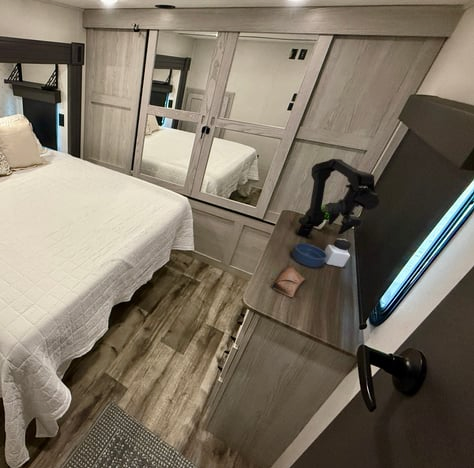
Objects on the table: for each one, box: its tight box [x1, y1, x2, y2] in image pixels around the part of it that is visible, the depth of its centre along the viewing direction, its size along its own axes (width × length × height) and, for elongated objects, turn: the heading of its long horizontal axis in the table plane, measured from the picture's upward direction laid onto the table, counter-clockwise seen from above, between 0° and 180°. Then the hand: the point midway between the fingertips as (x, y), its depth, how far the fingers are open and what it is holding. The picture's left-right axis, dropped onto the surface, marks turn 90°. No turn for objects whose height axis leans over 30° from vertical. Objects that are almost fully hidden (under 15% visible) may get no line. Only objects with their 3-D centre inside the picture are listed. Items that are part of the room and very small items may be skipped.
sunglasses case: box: [272, 265, 306, 298], centre depth 118 cm, size 18×7×7 cm
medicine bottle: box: [323, 238, 352, 268], centre depth 132 cm, size 7×7×12 cm
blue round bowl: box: [290, 242, 327, 268], centre depth 134 cm, size 13×13×5 cm
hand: (334, 229), depth 136 cm, fingers open, 9 cm apart
